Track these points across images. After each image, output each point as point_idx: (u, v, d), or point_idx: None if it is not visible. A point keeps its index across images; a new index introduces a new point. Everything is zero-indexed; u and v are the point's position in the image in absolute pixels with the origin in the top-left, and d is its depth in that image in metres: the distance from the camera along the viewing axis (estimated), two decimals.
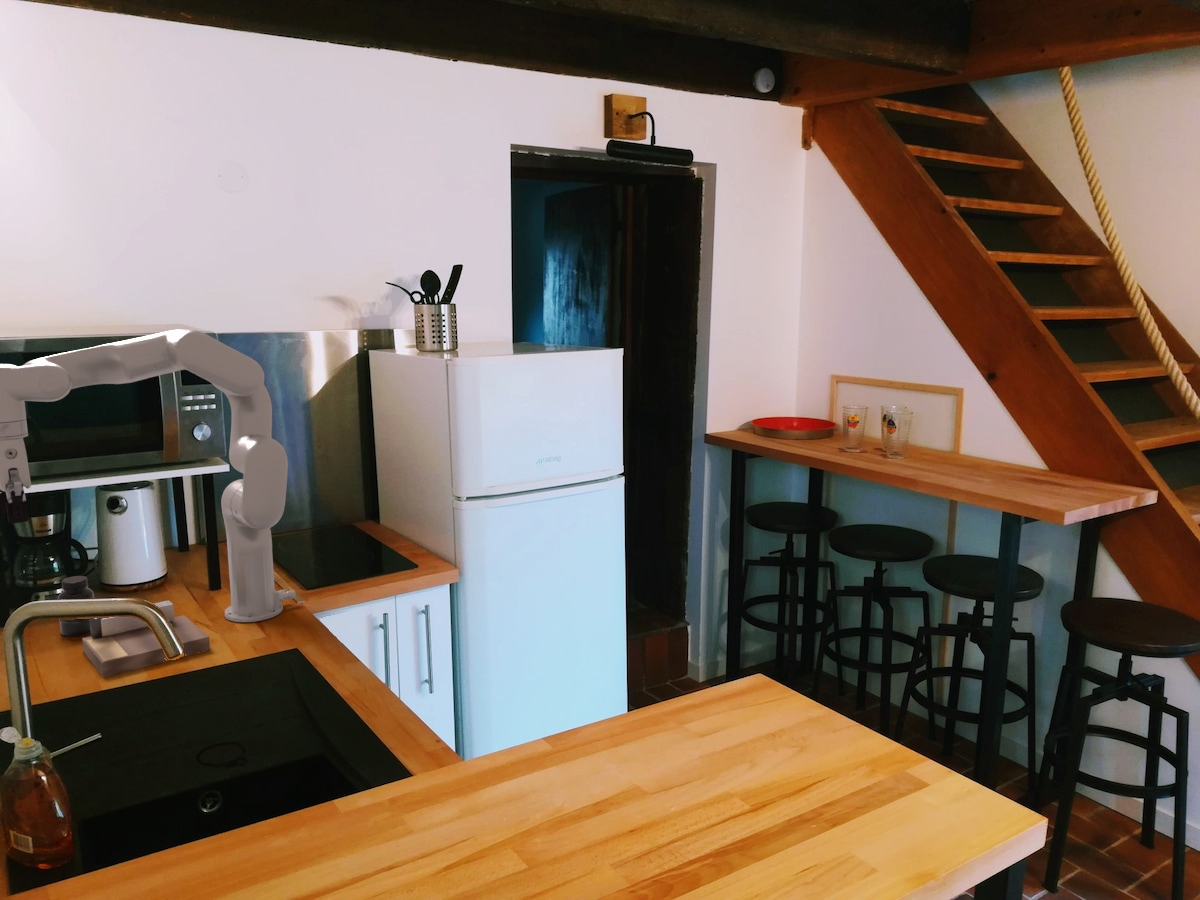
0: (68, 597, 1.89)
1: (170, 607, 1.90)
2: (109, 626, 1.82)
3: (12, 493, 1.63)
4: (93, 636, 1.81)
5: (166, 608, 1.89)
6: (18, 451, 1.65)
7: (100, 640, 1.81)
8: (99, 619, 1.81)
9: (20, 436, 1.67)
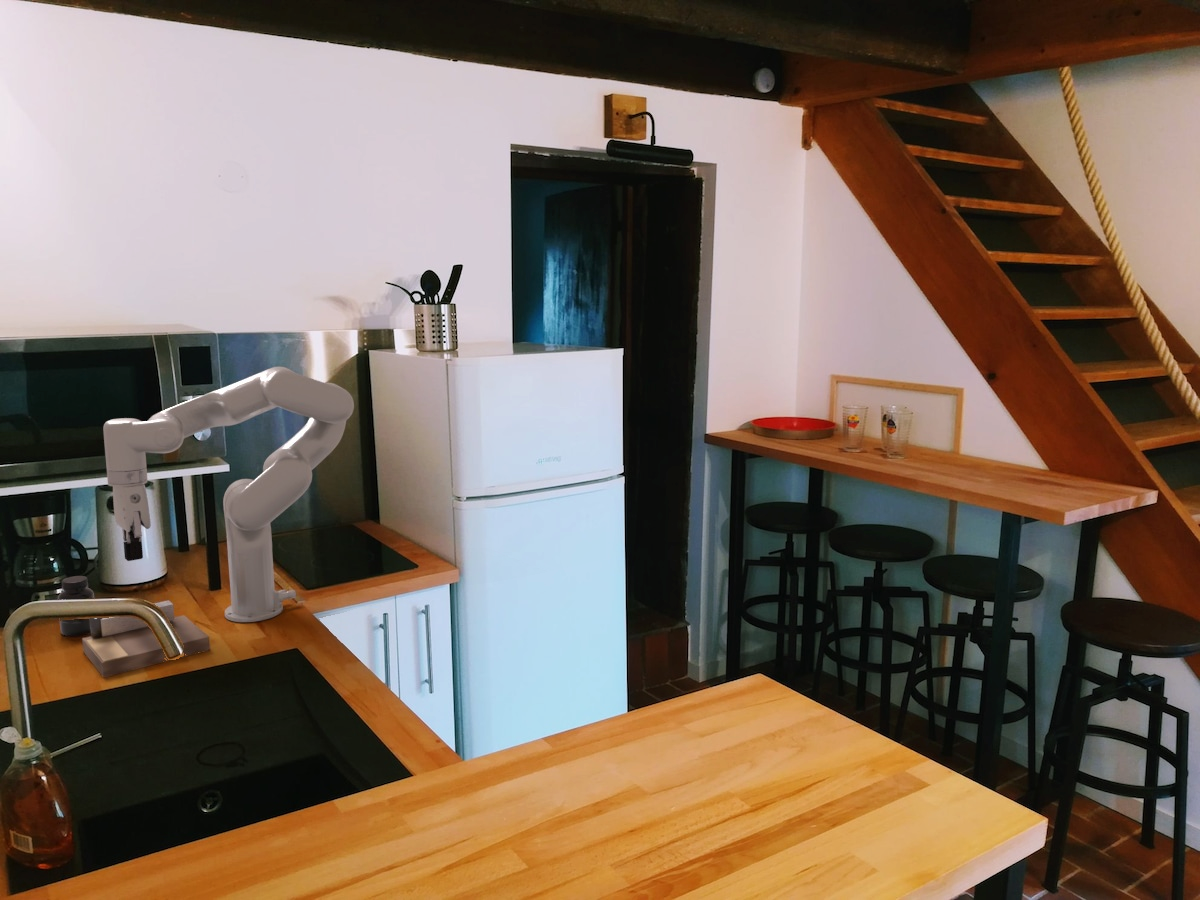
0: (68, 597, 1.89)
1: (170, 607, 1.90)
2: (109, 626, 1.82)
3: (131, 535, 1.88)
4: (93, 636, 1.81)
5: (166, 608, 1.89)
6: (141, 496, 1.86)
7: (100, 640, 1.81)
8: (99, 619, 1.81)
9: (142, 482, 1.88)
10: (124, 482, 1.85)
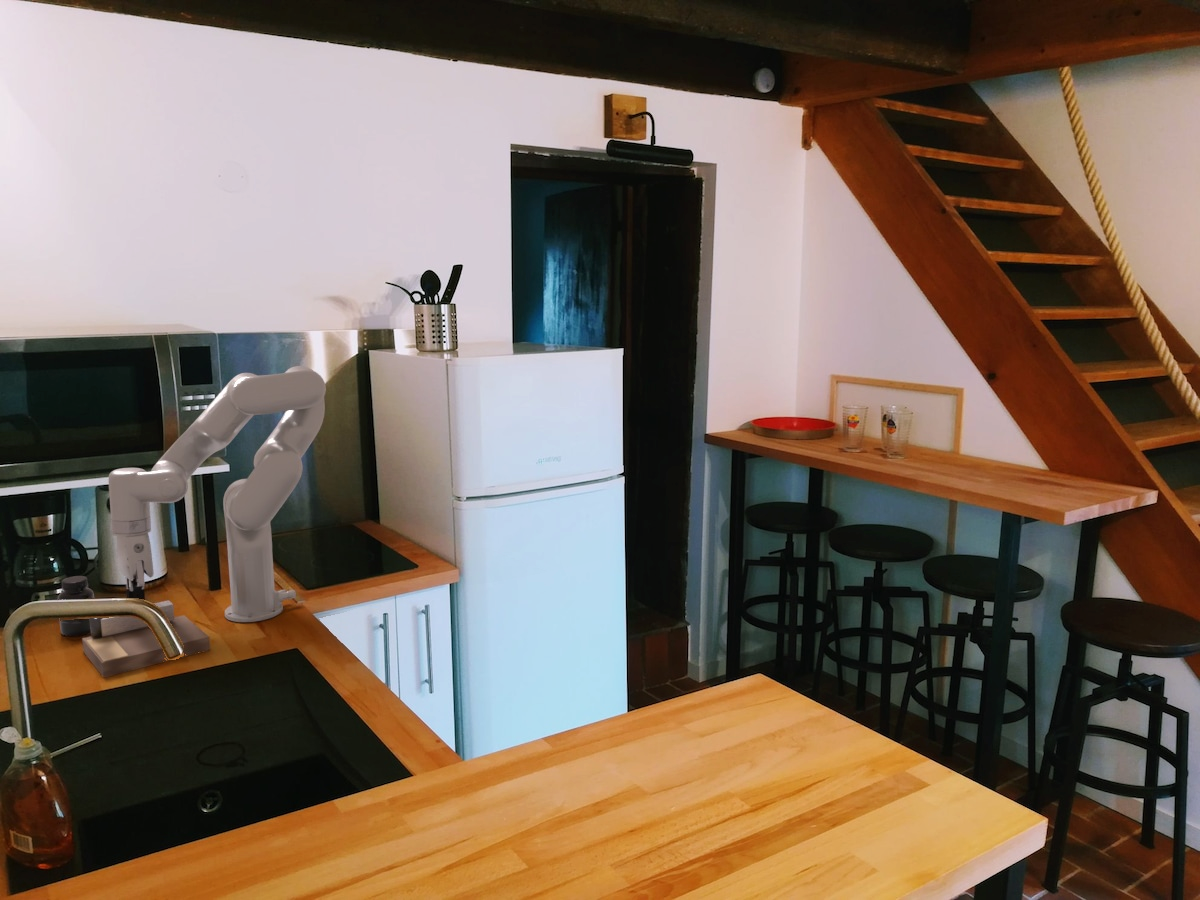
0: (68, 597, 1.89)
1: (170, 607, 1.90)
2: (109, 626, 1.82)
3: (134, 583, 1.90)
4: (93, 636, 1.81)
5: (166, 608, 1.89)
6: (145, 545, 1.88)
7: (100, 640, 1.81)
8: (99, 619, 1.81)
9: (146, 532, 1.90)
10: (128, 532, 1.87)
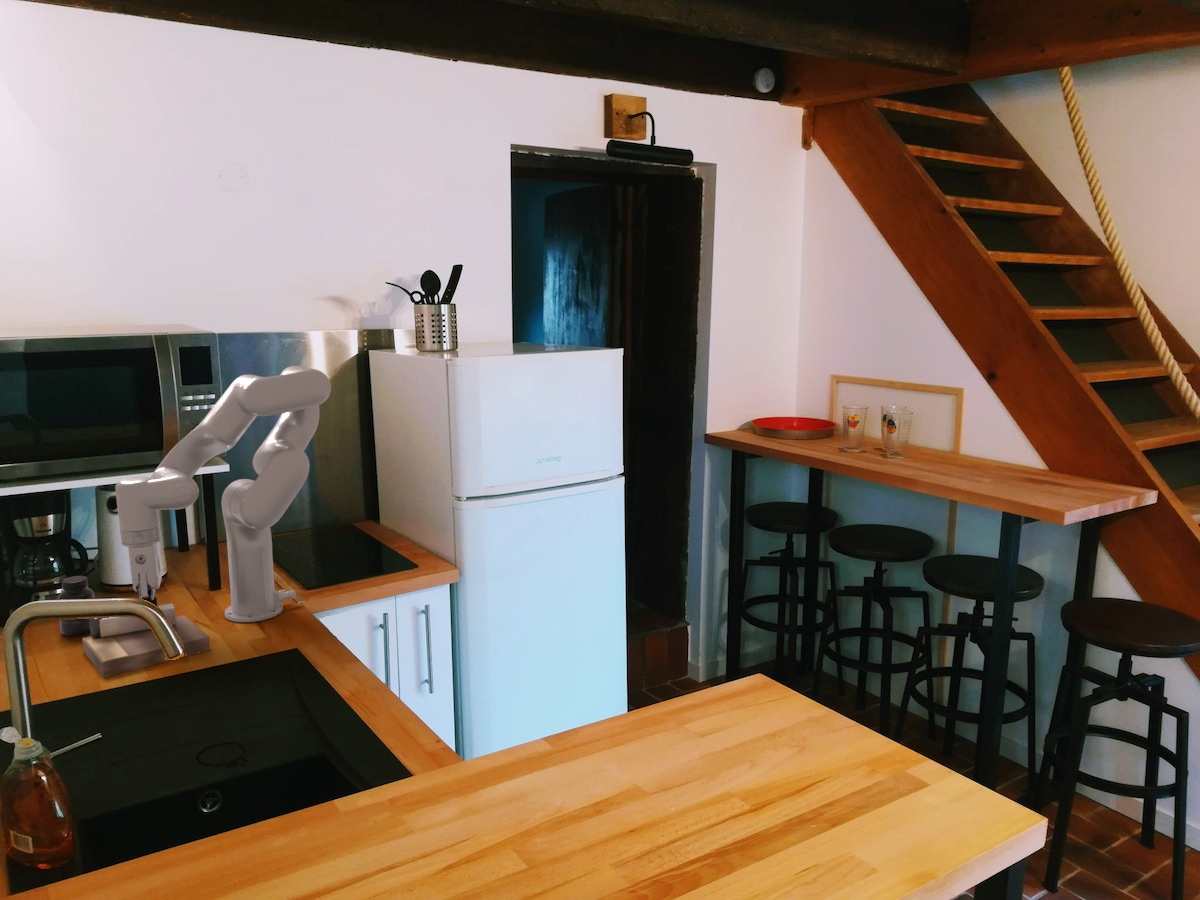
0: (68, 597, 1.89)
1: (171, 611, 1.88)
2: (108, 627, 1.82)
3: (141, 594, 1.86)
4: (92, 636, 1.81)
5: (167, 612, 1.87)
6: (147, 557, 1.84)
7: (100, 640, 1.81)
8: (98, 619, 1.81)
9: (151, 543, 1.85)
10: (131, 542, 1.83)
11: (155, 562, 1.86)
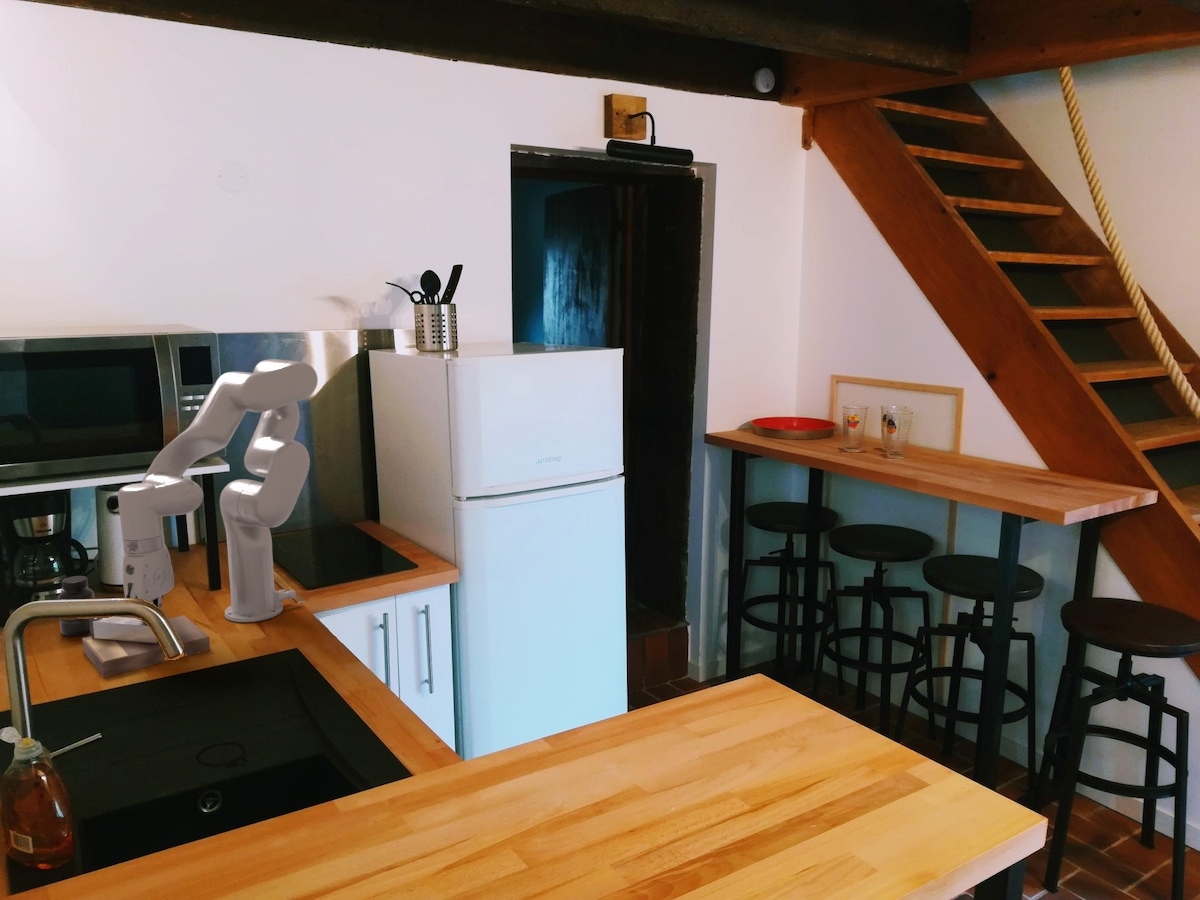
0: (68, 597, 1.89)
1: None
2: (99, 630, 1.80)
3: None
4: (91, 635, 1.82)
5: (149, 628, 1.78)
6: (135, 568, 1.77)
7: (100, 640, 1.81)
8: (93, 620, 1.81)
9: (143, 554, 1.78)
10: None
11: (145, 575, 1.78)
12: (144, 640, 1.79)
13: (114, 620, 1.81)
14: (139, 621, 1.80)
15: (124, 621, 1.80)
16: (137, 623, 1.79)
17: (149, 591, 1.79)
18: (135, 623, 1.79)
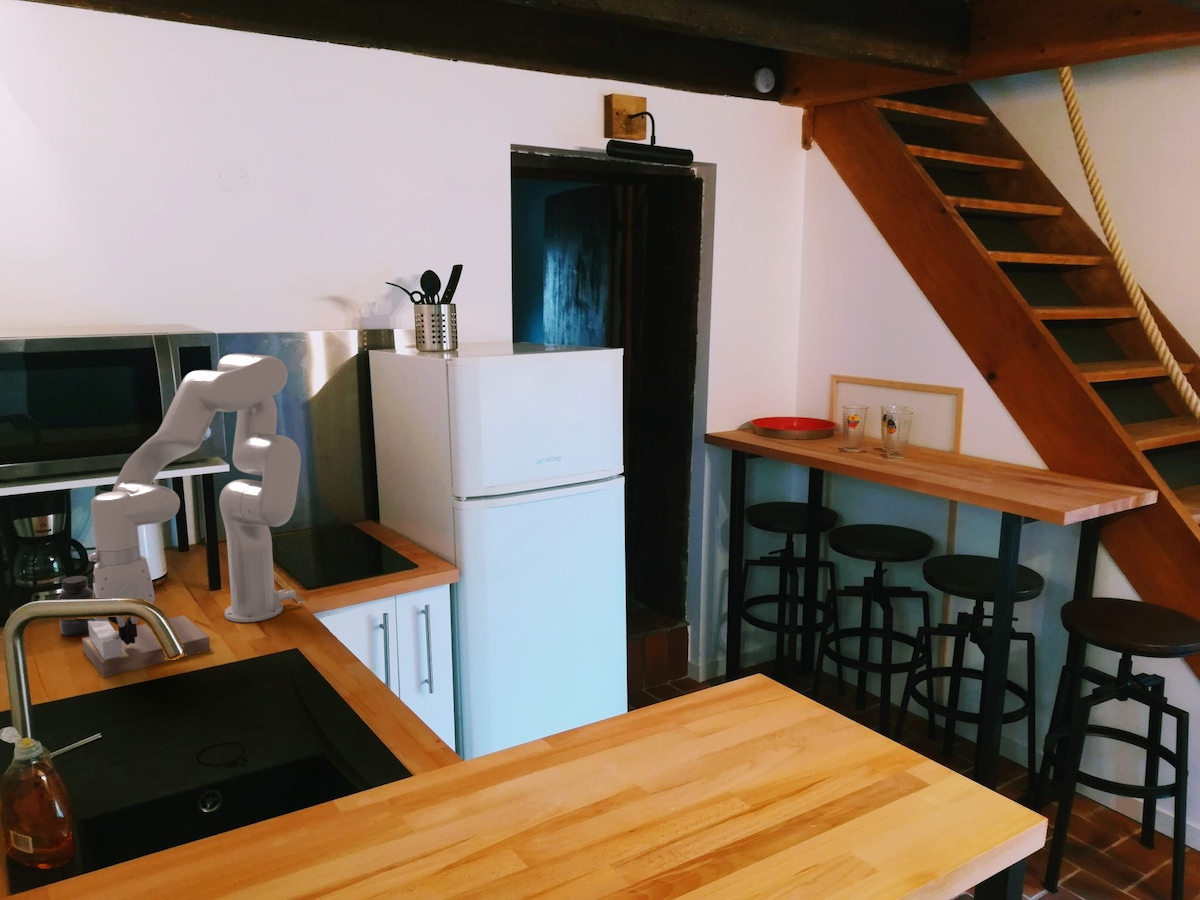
0: (68, 597, 1.89)
1: (102, 644, 1.70)
2: (90, 631, 1.80)
3: None
4: None
5: (101, 643, 1.71)
6: (95, 579, 1.70)
7: None
8: (90, 620, 1.81)
9: (104, 566, 1.70)
10: None
11: (103, 588, 1.70)
12: (101, 653, 1.72)
13: (98, 625, 1.78)
14: (107, 632, 1.74)
15: (99, 629, 1.76)
16: (100, 635, 1.73)
17: None
18: (101, 633, 1.74)
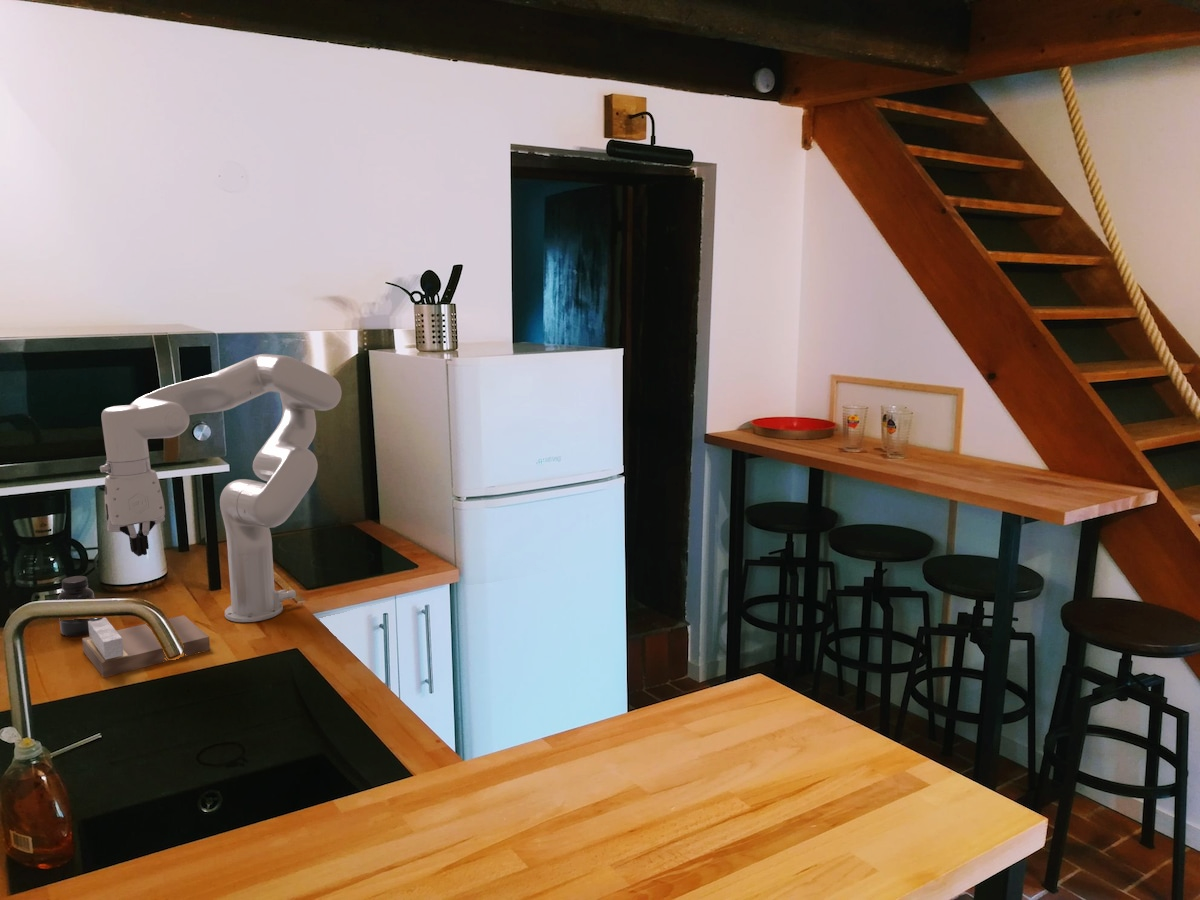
0: (68, 597, 1.89)
1: (103, 644, 1.70)
2: (90, 631, 1.80)
3: None
4: None
5: (102, 643, 1.71)
6: (107, 490, 1.74)
7: None
8: (90, 620, 1.81)
9: (116, 476, 1.74)
10: None
11: (115, 498, 1.74)
12: (102, 653, 1.73)
13: (98, 625, 1.78)
14: (107, 632, 1.75)
15: (100, 629, 1.76)
16: (101, 634, 1.73)
17: (121, 515, 1.75)
18: (101, 633, 1.74)
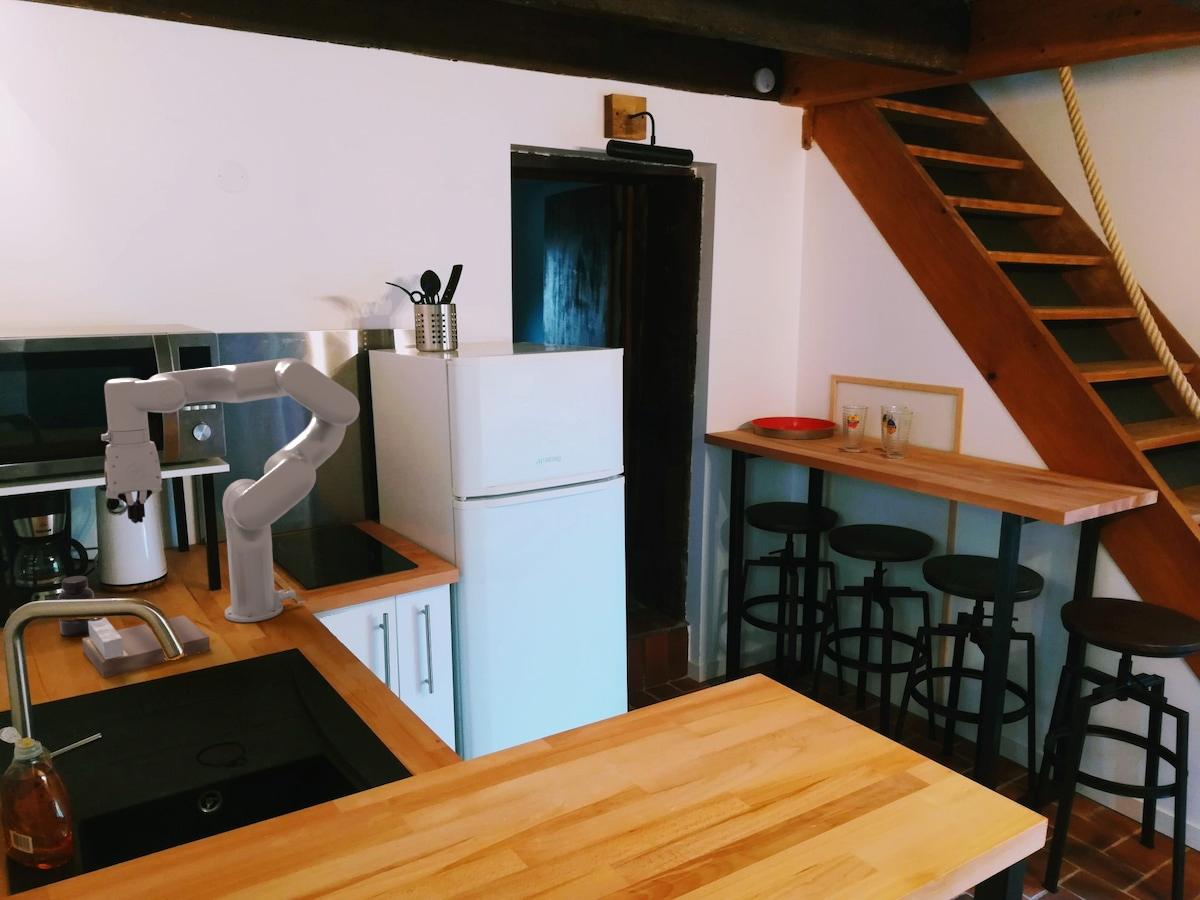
0: (68, 597, 1.89)
1: (103, 644, 1.70)
2: (90, 631, 1.80)
3: None
4: None
5: (102, 643, 1.71)
6: (107, 457, 1.82)
7: None
8: (90, 620, 1.81)
9: (116, 445, 1.82)
10: None
11: (114, 465, 1.82)
12: (102, 653, 1.73)
13: (98, 625, 1.78)
14: (107, 632, 1.75)
15: (100, 629, 1.76)
16: (101, 634, 1.73)
17: (119, 482, 1.83)
18: (101, 633, 1.74)
